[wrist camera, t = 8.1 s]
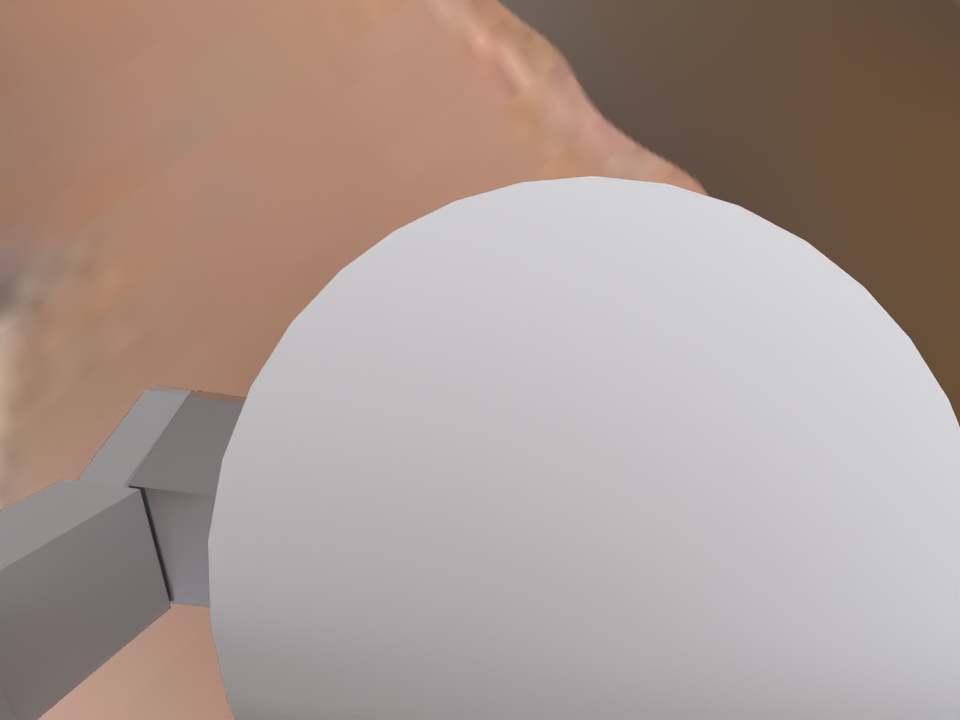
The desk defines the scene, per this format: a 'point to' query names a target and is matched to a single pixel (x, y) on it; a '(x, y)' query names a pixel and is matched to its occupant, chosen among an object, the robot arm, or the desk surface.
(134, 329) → the desk surface
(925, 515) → the cylindrical container
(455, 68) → the desk surface
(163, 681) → the desk surface
